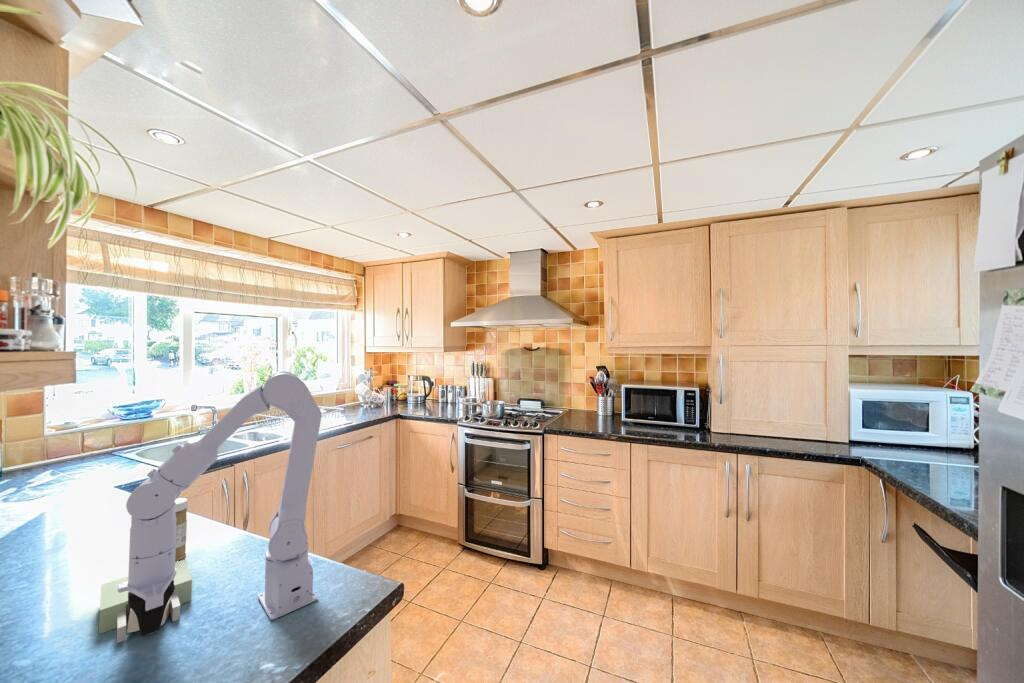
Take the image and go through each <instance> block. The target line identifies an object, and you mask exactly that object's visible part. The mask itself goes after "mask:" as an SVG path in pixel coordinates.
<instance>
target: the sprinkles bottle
mask: <svg viewBox="0 0 1024 683" xmlns="http://www.w3.org/2000/svg"><path fill="white" fill-rule="evenodd" d="M188 500H189V499H188V498H185V497H179V498H177V499H176V500H175V502H176V518H177V521H176V552H175V562H177V561H179V560H180V561H182V560H184V559H185V558H186V555H187V553H186V544H187V527H188V526H187V524H188V523H187V522H188V520H187V509H188V503H189V501H188ZM181 559H182V560H181Z"/></svg>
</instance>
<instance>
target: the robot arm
mask: <svg viewBox="0 0 1024 683" xmlns="http://www.w3.org/2000/svg"><path fill="white" fill-rule="evenodd" d="M263 384H264V386H263ZM271 407H274V408H275V409H278V410H281V411H283V412H285V414H286V415H287V416H288V417H289V419H290V418H291V419H292V421H293V422H294V423H293V429H292V430H293V431H292V436H291V441H290V446H289V451H288V456H287V457H288V458H287V461H286V468H285V473H284V474H285V475H284V479H283V484H282V490H281V496H280V499H279V503H278V507H277V510H276V514H274V516H273V518H272V519H271V521H270V523H269V529H268V531H269V541H268V546H267V547H268V548H267V550H266V553H265V564H264V566H265V567H264V570H265V573H264V591H263V592H260V593H258V594H257V600H259V602H260V604H261V606H262V608H263V609H264V611H265V613H266V614H267V617H268V618H269V620H270V621H271V620H272V621H274V620H275V619H278V618H280V617H282V616H285V615H287V614H288V613H291V612H293V611H296V610H298V609H300V608H302V607H303V608H304V607H305V606H306V605H308V604H311V603H314V602H315V601H317V600H318V598H319V596H318V595H317V594H316V592H314V590H313V588H314V585H313V584H314V569H313V566H312V564H311V563H310V562H309V542H308V533H307V529H306V524H305V523H306V515H307V512H306V511H307V500H308V495H309V490H310V485H311V484H310V483H311V480H312V479H311V478H312V471H313V466H314V461H315V456H316V451H317V450H316V449H317V445H318V439H319V432H320V426H321V422H322V411H321V409H320V407H319V405H318V404H317V401H316V400H315V398H314V397H313V395H312V392H311V391H310V389H309V388H308V386H307V385H306V384H305V382H304V381H302V380H301V379H300V378H299V377H298V376H296V375H295V374H294V373H292V372H290V371H279V372H275V373H273V374H271V375H270V376H269V377H268V378H267V380H266V381H265V383H264V382H261V383H259V384H258V385H257V386H256V387H254V388H253V389H252V390H250V391H249V392H247V393H246V394H245V395H244V396H243V397H241V399H239V401H238V402H237V403H235V405H234V406H232V407H231V408H230V409H229V410H228V412H227V413H225V414H224V416H222V417H221V418H220V420H218V422H217V423H215V424H214V426H212V428H211V429H209V431H207V432H206V433H205V434H204V435H203V437H202V436H201V437H200V438H195V439H189V440H187V441H185V442H184V443H183V444H182V443H178V444H177V445H176V446H175V447H173V449H172V450H171V451H172V453H173V454H171V456H169V457H168V458H167V459H166V460H165V461H164V462H163V463H161V465H160V466H158V468H156V469H155V468H153V469H151V470H150V471H149V472H148V473H147V474H146V476H147V479H145V480H143V482H141V483H140V484H139V485H138V486H137V487H136V488H134V489H133V491H132V493H131V494H130V495H129V497H128V498H127V501H126V506H125V508H126V510H127V513H128V514H129V515H130V516H131V517H130V518H131V519H130V520H131V524H130V528H129V549H128V550H129V554H128V576H127V577H128V581H126V582H123V583H120V584H119V585H118V593H121V592H124V591H129V593H128V604H129V606H130V608H131V609H132V610H133V611H134V612H135V614H136V616H137V619H138V624H139V629H140V630H139V632H140V635H141V636H142V637H145V636H147V635H150V634H153V633H155V632H158V631H159V630H160V628H161V626H162V625H161V622H162V618H163V614H164V611H165V608H166V605H167V603H168V601H169V599H170V597H171V596H172V594H173V592H174V590H175V585H174V577H175V576H176V568H175V552H176V521H177V518H176V502H175V500H176V499H177V498H178V497H179V496H180V495H181V493H182V492H183V491H186V490H187V489H188V488H190V487H191V485H193V483H195V481H196V480H198V479H199V478H200V476H201V475H203V473H204V472H206V471H207V469H209V468H210V466H212V465H213V464H214V463H215V462H216V461H217V460H218V457H219V456H218V453H219V452H218V448H219V447H220V446H222V444H224V443H225V441H227V440H228V438H230V437H231V436H232V435H233V434H234V433H235V432H236V431H238V430H239V429H240V428H241V427H242V426H243V425H244V424H245V423H246V422H247V421H248V420H249V419H250V418H252V417H253V416H255V415H258V414H261V413H262V414H263V413H265V412H269V411H270V410H271ZM160 625H161V626H160Z"/></svg>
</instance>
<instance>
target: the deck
mask: <svg viewBox="0 0 1024 683" xmlns="http://www.w3.org/2000/svg"><path fill="white" fill-rule="evenodd" d="M175 568H176V576H175V577H174V585H175V590H174V592H173V594H172V597H171V604H170V611H169V613H170V617H171V621H172V622H173V623H174V622H176V621H178V620H181V605H182V604H185V603H188V602H191V601H192V597H193V596H192V594H193V593H192V589H193V588H192V587H193V579H192V574H191V573H190V569H189V566H188V564H187V560H186V559H182V560H180V561H178V562H175ZM126 581H128V576H126V577H122V578H120V579H119V578H118V579H115V580H113V581H110V582H106V583H103V584H101V585H100V586H101V587H100V603H99V621H98V622H99V626H98V635H101V634H103V633H106V631H107V632H108V631H112V630H114V629H116V643H117V644H118V643H121V642H125V641H126V640H127V625H128V621H129V614H130V609H131V608H130V606H129V604H128V593H129V591H124V592H121V593H118V585H119V584H120V583H123V582H126Z"/></svg>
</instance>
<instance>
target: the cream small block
mask: <svg viewBox="0 0 1024 683" xmlns="http://www.w3.org/2000/svg"><path fill="white" fill-rule="evenodd" d="M171 597H172V596H171ZM171 597H170V599H169V601H168V603H167V605H166V608H165V611H164V614H163V618H162V622H161V625H160V627H161V626H163V625H164V624H165V622H166V621H167V620H168V617H169V616H170V604H171ZM138 631H139V632H140V629H139V624H138V619H137V616H136V614H135V612H134V611H133V610H132V609H130V614H129V621H128V624H127V626H126V634H130V633H133V632H138Z"/></svg>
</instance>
